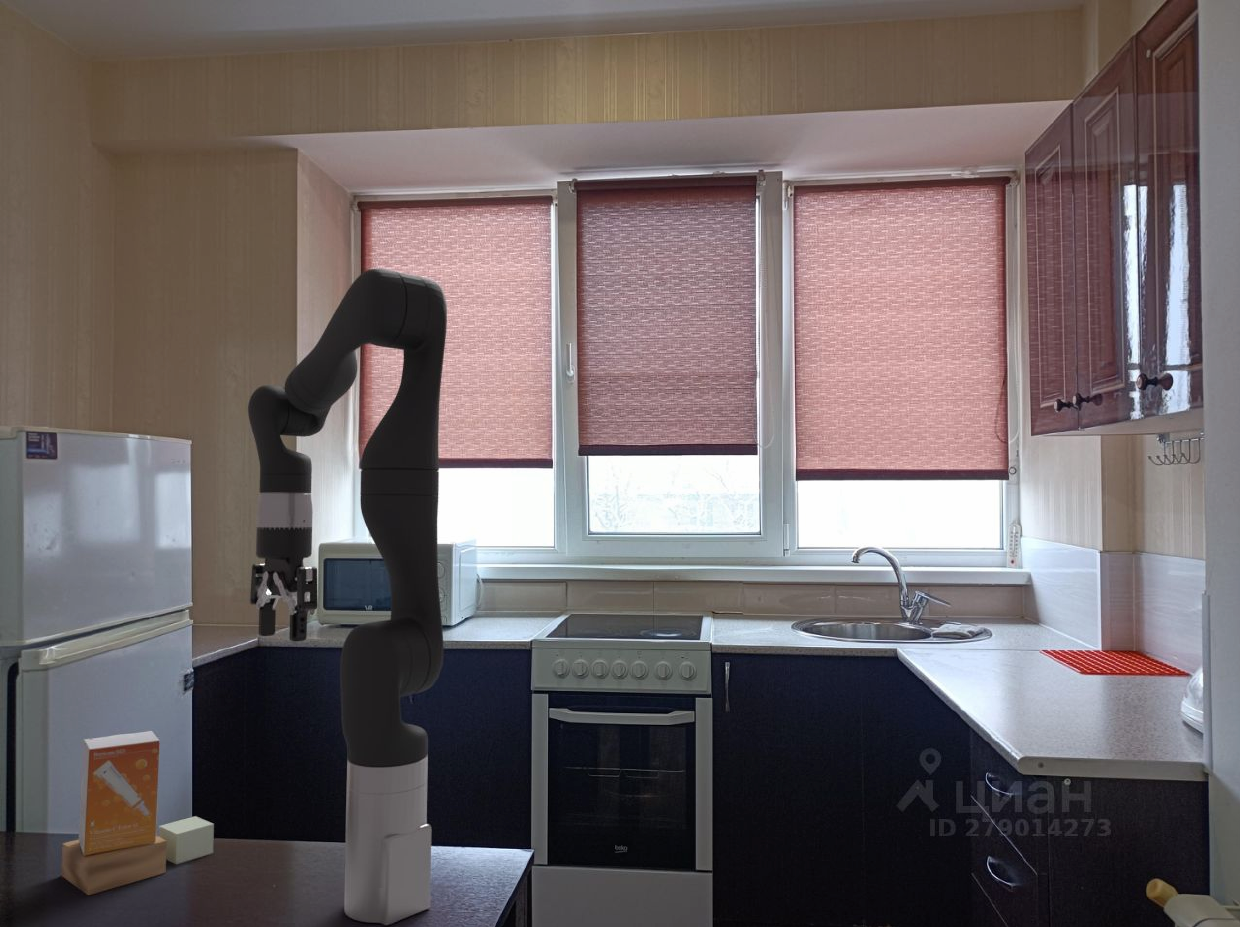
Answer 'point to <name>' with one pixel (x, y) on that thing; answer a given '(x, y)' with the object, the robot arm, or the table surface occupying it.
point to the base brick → (112, 865)
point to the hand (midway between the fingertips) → (281, 638)
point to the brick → (187, 839)
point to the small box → (119, 792)
